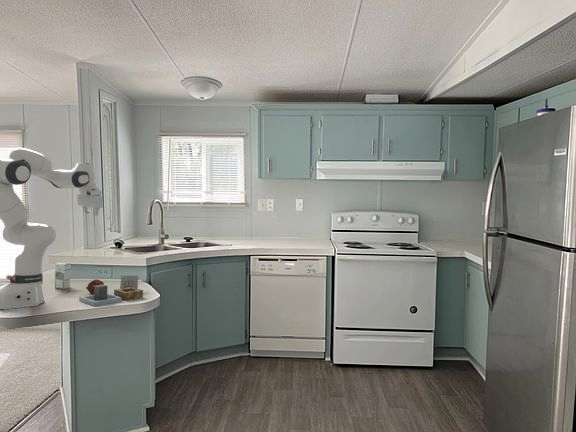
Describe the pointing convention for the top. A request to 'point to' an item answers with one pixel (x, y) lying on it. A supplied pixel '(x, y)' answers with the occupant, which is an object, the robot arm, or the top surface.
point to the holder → (128, 293)
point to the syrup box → (62, 275)
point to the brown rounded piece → (92, 284)
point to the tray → (95, 303)
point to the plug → (100, 292)
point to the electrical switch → (129, 282)
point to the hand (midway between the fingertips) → (91, 214)
